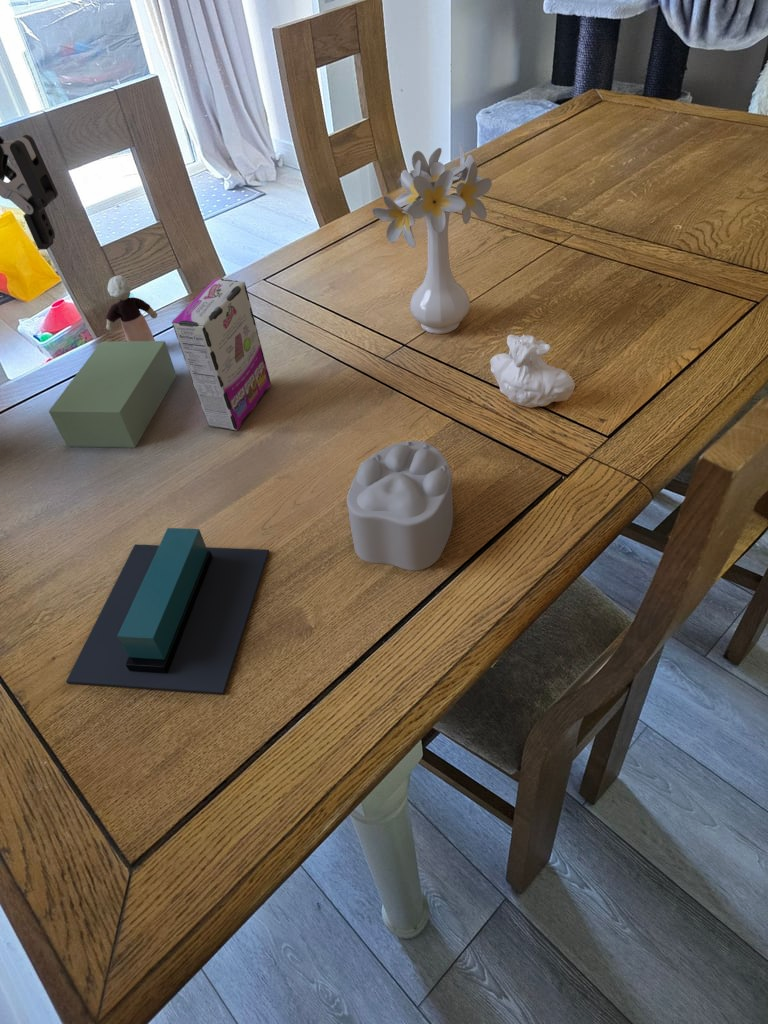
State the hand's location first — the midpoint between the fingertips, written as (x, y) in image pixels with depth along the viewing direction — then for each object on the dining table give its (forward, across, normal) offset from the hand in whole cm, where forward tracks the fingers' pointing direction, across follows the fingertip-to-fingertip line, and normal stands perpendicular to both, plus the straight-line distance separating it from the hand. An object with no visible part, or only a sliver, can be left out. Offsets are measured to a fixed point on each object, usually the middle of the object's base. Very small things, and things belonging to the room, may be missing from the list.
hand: (10, 247), depth 74 cm
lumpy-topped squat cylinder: (+28, +42, -12) cm, 52 cm away
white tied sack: (+28, +56, +12) cm, 64 cm away
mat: (+28, +19, -26) cm, 43 cm away
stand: (+28, -1, +9) cm, 30 cm away
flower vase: (+28, +43, +31) cm, 60 cm away
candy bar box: (+28, +16, +10) cm, 34 cm away
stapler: (+28, +19, -26) cm, 42 cm away
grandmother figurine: (+28, -4, +24) cm, 37 cm away
